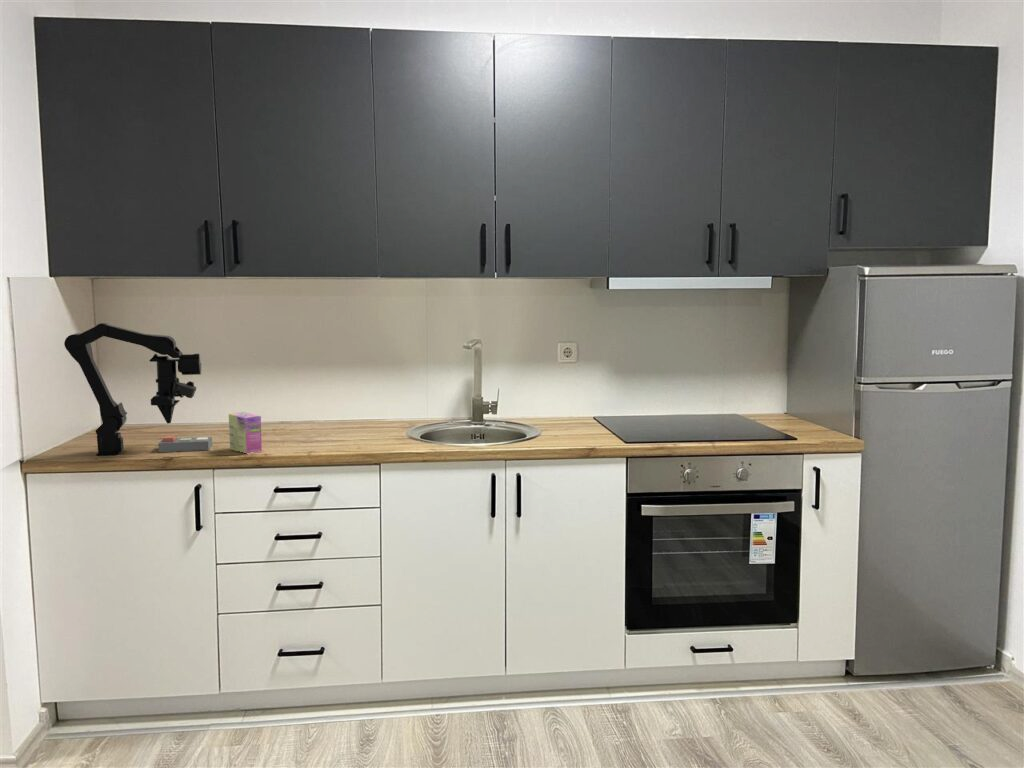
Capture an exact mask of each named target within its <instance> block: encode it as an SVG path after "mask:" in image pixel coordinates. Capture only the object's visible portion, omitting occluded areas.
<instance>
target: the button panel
mask: <svg viewBox="0 0 1024 768" xmlns="http://www.w3.org/2000/svg"><path fill="white" fill-rule="evenodd" d="M201 437H202V436H198V437H197V436H196V437H194V436H193V437H190V438H192V440H191V441H179V440H180V439H181V438H182V437H176V440H175V441H174V442H163V439H162V440H160V441H159V442H157V443H158V445H157V446H158V453H177V452H176V451H183V452H194V451H193V450H206V451H209V450H210V449H211V448H212V447H213V437H212V436H207V437H208V440H200V441H196V439H197V438H201ZM211 446H212V447H211ZM210 447H211V448H210Z"/></svg>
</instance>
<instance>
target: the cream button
mask: <svg viewBox="0 0 1024 768" xmlns="http://www.w3.org/2000/svg"><path fill="white" fill-rule="evenodd" d="M200 437H201V438H197V439H196V441H200V440H208V437H209V436H200Z"/></svg>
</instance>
